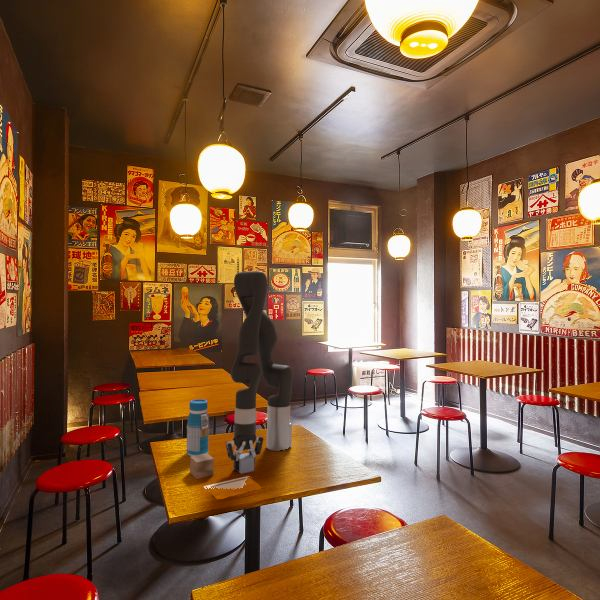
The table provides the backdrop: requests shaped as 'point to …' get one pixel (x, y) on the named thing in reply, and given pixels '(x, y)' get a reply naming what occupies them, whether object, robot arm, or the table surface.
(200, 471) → the walnut block
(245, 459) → the slate cube
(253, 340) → the robot arm
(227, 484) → the menu card
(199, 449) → the beverage bottle
